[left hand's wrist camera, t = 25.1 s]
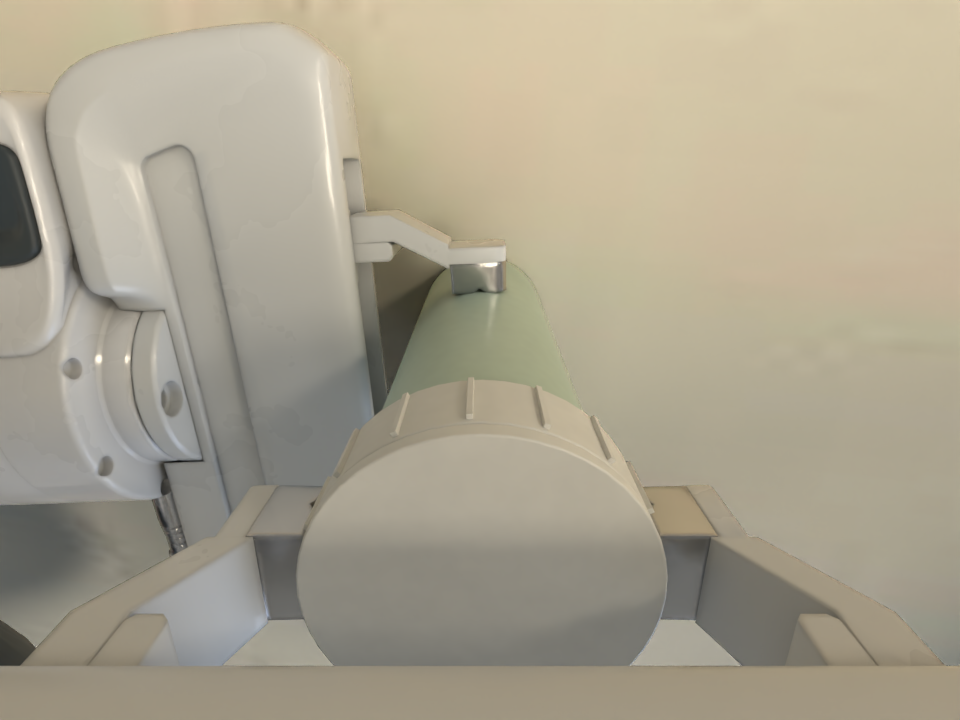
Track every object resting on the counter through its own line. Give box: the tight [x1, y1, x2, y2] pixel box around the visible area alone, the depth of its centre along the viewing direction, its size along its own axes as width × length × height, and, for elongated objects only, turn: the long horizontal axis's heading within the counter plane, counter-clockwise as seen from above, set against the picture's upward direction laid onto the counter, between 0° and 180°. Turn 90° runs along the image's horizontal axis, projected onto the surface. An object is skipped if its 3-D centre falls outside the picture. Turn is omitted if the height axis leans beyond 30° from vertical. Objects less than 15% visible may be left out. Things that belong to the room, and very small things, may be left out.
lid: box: [296, 377, 668, 666], centre depth 9 cm, size 6×6×2 cm
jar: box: [382, 261, 582, 410], centre depth 17 cm, size 5×5×15 cm
